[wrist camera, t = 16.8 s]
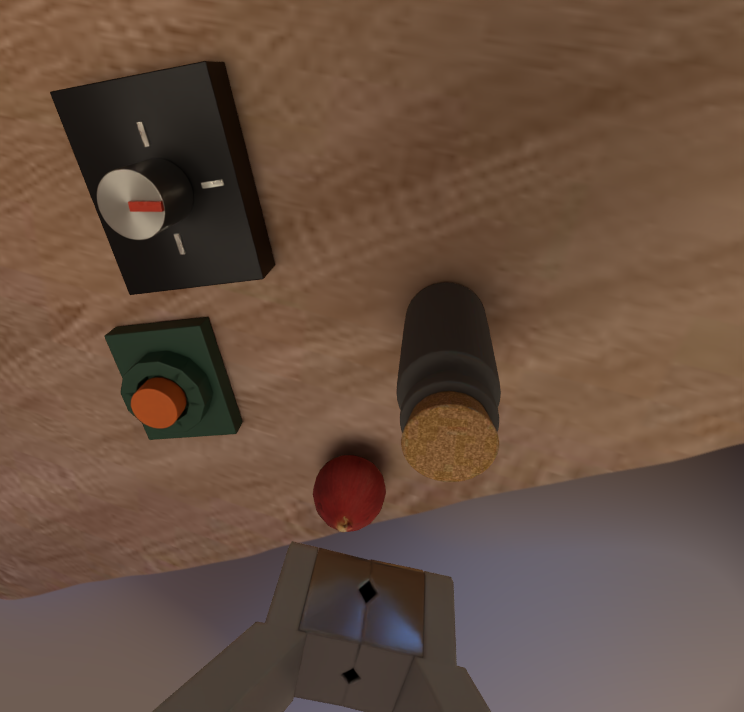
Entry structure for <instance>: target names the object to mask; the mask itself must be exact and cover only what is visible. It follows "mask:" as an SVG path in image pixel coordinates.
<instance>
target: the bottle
mask: <svg viewBox="0 0 744 712" xmlns="http://www.w3.org/2000/svg"><path fill="white" fill-rule="evenodd" d="M500 394H501V391H500V382H499V377H498V371H497V366H496V361H495V356H494V351H493V346H492V341H491V337H490V332H489V327H488V323H487V318H486V314H485V310H484V307H483V305H482V303H481V301H480V299H479V298H478V297H477V296H476V295H475V294H474V293H473V292H472V291H471V290H469V289H468V288H466V287H464V286H462V285H459V284H455V283H437V284H433V285H430V286H428V287H426V288H424V289H423V290H421V291H420V292H419V293H418V294H417V295H416V296H415V297H414V298H413V299H412V301H411V303H410V304H409V307H408V309H407V313H406V318H405V324H404V332H403V340H402V347H401V355H400V364H399V372H398V381H397V401H398V404H399V408H400V410H401V412H400V426H401V430H402V433H403V434H402V439H401V445H402V450H403V453H404V456H405V458H406V460H407V461H408V463H409V464H410V465H411V466H412V467H413V468H414V469H415V470H416V471H417V472H419V473H420V474H422V475H424V476H426V477H428V478H431V479H434V480H438V481H443V482H459V481H464V480H468V479H471V478H473V477H475V476H477V475H479V474H481V473H483V472H484V471H485V470H486V469H488V467H489V466H490V465H491V464H492V463H493V461H494V460H495V458H496V455H497V453H498V448H499V438H498V434H497V432H498V428H499V414H498V406H499V402H500Z"/></svg>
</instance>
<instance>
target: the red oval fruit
mask: <svg viewBox="0 0 744 712" xmlns="http://www.w3.org/2000/svg"><path fill="white" fill-rule="evenodd" d="M385 494H386V489H385V483H384V479H383V476H382V474H381V473H380V471H379V470H378V468H377V467H376V466H375V465H374V463H372V462H370V461H368V460H366V459H365V458H362V457H358V456H354V455H342V456H339V457H337V458H334V459H332V460H330V461H329V462H327V463H326V464H325V465H324V467H323V468H322V469H321V470H320V472H319V473H318V475H317V477H316V481H315V485H314V489H313V497H314V502H315V506H316V510H317V512H318V514H319V515H320V517H321V518H322V519H323V520H324V521H325V522H326V524H327V525H328V526H330V527H332V528H334V529H336V530H338V531H340V532H350V531H356V530H359V529H361V528H363V527H365V526H367V525H369V524H370V523H371V522H372V521H373V520H374V519H375V517H376V516H377V515H378V514H379V512H380V510H381V509H382V505H383V502H384V498H385Z"/></svg>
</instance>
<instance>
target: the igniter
mask: <svg viewBox="0 0 744 712" xmlns="http://www.w3.org/2000/svg"><path fill="white" fill-rule="evenodd" d="M105 339H106V341H107V344H108V346H109V348H110V351H111V353H112V355H113V357H114V360H115V362H116V364H117V367H118V369H119V371H120V374H121V376H122V378H123V381H122V387H121V395H122V397H123V400H124V402H125V404H126V406H127V409H128V411H129V412H130V413H131V414H133V415H134V416H135V414H134V413H133V411H132V408H131V399H132V396H133V395H134V393H135V392H136V391H137V390H138V389H139V388H140V387H141V386H142V385H143V384H144V383H145V382H146V381H147V380H149V379H151V378H155V377H162V378H166V379H169V380H171V381H173V382H175V383H176V384H177V385H178V386H179V387H180V388H181V389H182V390H183V392H184V394H185V396H186V407H185V409H184V411H183V412H182V413H181V415H180V416H179V417H178V419H177V420H176V421H175V423H174V424H173V425H171V426H169V427H167V428H153V427H150V426H148V425H146V424H144V423H142V424H143V426H144V429H145V431H146V433H147V436H148V438H149V440H154V439H168V438H183V437H198V436H213V435H227V434H236V433H237V432H238V430H239V428H240V426H241V424H242V419H241V416H240V413H239V410H238V407H237V404H236V401H235V398H234V395H233V392H232V388H231V385H230V382H229V379H228V376H227V373H226V370H225V367H224V364H223V361H222V358H221V355H220V352H219V349H218V346H217V343H216V340H215V337H214V334H213V331H212V328H211V324H210V321H209V318H208V317H203V318H193V319H184V320H175V321H166V322H157V323H148V324H138V325H129V326H120V327H115V328H114V329H112V330H111V331H110V332H109V333H107V334H106V335H105ZM135 417H136V416H135ZM136 418H137V417H136ZM137 419H138V418H137ZM138 420H139V419H138ZM139 421H140V420H139ZM140 422H141V421H140Z"/></svg>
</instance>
